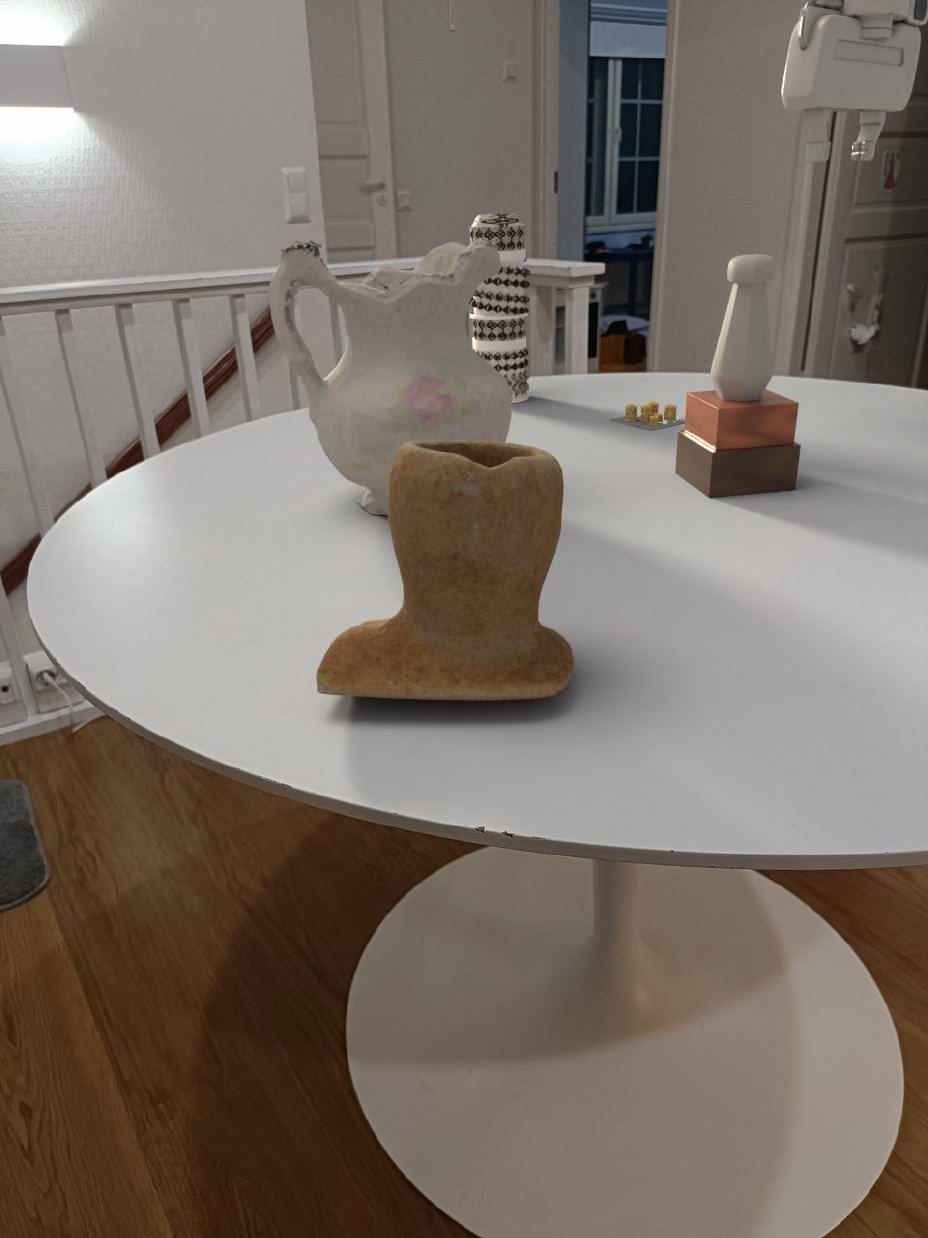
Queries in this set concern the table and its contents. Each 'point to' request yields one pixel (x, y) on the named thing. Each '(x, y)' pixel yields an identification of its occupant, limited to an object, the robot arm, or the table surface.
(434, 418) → the ceramic pitcher
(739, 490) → the block stack
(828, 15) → the robot arm
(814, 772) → the table surface
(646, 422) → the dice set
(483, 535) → the stone cup
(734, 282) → the salt shaker
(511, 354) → the white patterned cylinder
